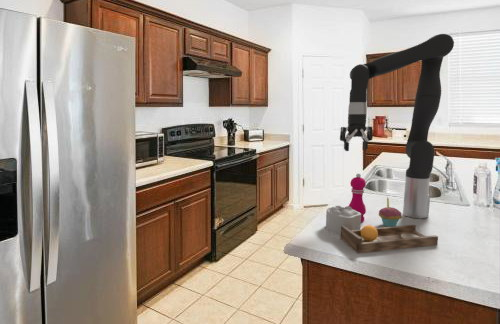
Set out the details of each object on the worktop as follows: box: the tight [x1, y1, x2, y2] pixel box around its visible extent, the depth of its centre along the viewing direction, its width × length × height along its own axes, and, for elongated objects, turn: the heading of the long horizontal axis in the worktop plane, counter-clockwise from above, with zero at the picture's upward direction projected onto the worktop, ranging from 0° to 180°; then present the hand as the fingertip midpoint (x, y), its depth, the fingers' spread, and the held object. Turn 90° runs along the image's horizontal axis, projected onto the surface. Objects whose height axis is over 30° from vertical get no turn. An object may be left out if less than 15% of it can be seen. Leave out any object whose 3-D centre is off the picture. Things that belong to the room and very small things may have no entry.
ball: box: [360, 224, 378, 242], centre depth 114 cm, size 6×6×6 cm
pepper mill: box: [348, 173, 367, 223], centre depth 137 cm, size 7×7×20 cm
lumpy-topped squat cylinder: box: [325, 205, 362, 236], centre depth 128 cm, size 10×13×9 cm
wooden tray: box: [340, 224, 439, 254], centre depth 116 cm, size 30×12×5 cm, turn 102°
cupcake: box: [378, 196, 403, 227], centre depth 132 cm, size 9×8×12 cm
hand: (355, 150), depth 144 cm, fingers open, 8 cm apart
